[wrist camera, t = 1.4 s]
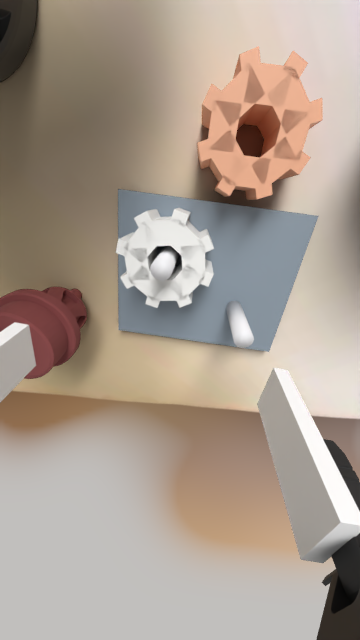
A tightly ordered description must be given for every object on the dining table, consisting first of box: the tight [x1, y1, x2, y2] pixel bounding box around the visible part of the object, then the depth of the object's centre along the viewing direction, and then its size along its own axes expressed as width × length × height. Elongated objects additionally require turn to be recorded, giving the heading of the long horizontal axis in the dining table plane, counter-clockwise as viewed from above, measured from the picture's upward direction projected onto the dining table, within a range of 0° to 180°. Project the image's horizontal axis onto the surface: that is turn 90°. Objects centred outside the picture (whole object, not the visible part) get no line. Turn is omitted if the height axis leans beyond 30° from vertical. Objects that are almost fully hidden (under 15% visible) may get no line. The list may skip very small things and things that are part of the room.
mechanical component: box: [0, 287, 87, 379], centre depth 29 cm, size 12×10×10 cm
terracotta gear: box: [197, 46, 322, 200], centre depth 22 cm, size 10×10×6 cm
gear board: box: [118, 189, 318, 352], centre depth 26 cm, size 18×22×10 cm
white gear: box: [116, 208, 214, 308], centre depth 26 cm, size 10×10×6 cm
